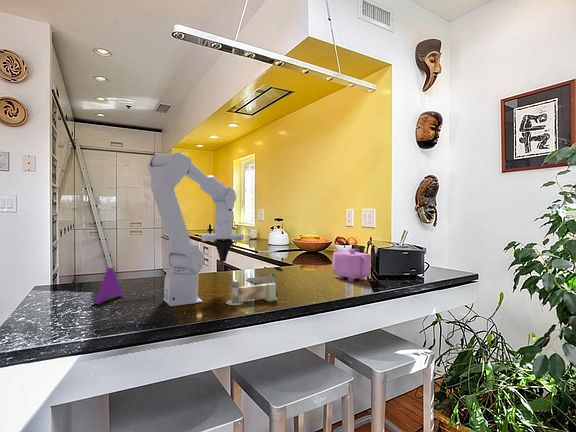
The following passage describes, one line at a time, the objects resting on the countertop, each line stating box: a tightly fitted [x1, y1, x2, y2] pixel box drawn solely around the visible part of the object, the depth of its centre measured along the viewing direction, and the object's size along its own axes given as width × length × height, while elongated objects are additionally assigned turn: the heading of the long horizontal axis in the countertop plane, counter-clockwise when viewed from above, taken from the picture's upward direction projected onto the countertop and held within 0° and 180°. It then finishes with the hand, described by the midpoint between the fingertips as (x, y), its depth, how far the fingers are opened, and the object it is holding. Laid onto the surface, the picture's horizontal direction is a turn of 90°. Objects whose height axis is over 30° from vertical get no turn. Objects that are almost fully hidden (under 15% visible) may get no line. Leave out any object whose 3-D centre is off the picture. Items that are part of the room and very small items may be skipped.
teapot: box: [332, 248, 372, 282], centre depth 142 cm, size 20×10×12 cm, turn 32°
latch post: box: [264, 283, 278, 302], centre depth 105 cm, size 3×2×5 cm
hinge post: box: [225, 280, 244, 307], centre depth 100 cm, size 5×5×7 cm
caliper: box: [245, 272, 277, 285], centre depth 124 cm, size 20×1×6 cm, turn 35°
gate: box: [238, 283, 271, 302], centre depth 104 cm, size 11×2×4 cm, turn 123°
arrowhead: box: [94, 267, 125, 305], centre depth 100 cm, size 10×2×10 cm
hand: (222, 261), depth 115 cm, fingers closed
